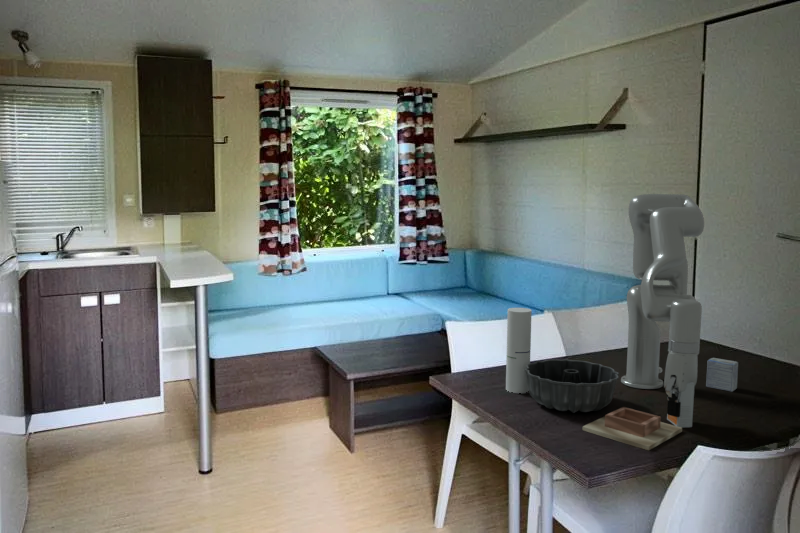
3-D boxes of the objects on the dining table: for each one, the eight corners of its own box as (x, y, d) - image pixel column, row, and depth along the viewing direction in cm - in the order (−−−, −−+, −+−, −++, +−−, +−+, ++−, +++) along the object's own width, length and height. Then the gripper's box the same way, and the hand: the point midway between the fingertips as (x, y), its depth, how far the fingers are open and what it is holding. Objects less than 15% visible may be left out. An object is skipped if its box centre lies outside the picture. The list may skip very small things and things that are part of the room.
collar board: (617, 413, 188) (618, 399, 188) (682, 431, 175) (682, 416, 175) (582, 430, 176) (583, 415, 176) (648, 450, 163) (649, 434, 163)
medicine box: (737, 389, 211) (738, 361, 210) (732, 392, 208) (734, 364, 206) (710, 383, 216) (712, 357, 215) (705, 386, 213) (707, 359, 212)
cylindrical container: (529, 394, 205) (531, 312, 202) (505, 392, 207) (507, 311, 203) (529, 387, 212) (531, 308, 209) (506, 385, 214) (508, 307, 210)
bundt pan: (541, 384, 215) (542, 353, 214) (627, 398, 202) (628, 365, 200) (510, 409, 193) (510, 374, 191) (604, 426, 179) (605, 389, 178)
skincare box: (666, 419, 184) (668, 376, 182) (681, 419, 184) (683, 376, 183) (677, 428, 178) (679, 383, 176) (692, 427, 178) (695, 383, 177)
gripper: (684, 338, 187) (680, 401, 189) (654, 349, 175) (650, 416, 177) (712, 343, 182) (708, 408, 184) (683, 355, 170) (679, 424, 172)
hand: (680, 411), depth 181 cm, fingers closed on skincare box, 6 cm apart
